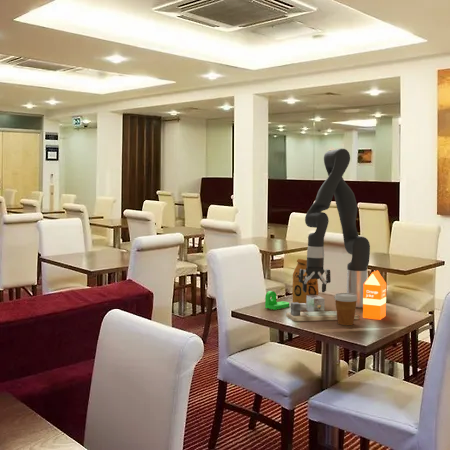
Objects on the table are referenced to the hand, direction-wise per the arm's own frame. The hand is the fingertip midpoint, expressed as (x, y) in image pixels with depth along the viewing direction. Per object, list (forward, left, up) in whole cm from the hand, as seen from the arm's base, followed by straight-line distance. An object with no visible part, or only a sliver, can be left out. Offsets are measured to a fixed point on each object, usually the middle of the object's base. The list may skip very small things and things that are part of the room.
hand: (314, 292), depth 262 cm
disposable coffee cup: (-5, +25, -9) cm, 27 cm away
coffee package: (-1, -16, -9) cm, 18 cm away
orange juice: (-23, +14, -9) cm, 28 cm away
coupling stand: (0, +12, -9) cm, 15 cm away
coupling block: (-1, 0, -9) cm, 9 cm away
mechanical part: (+13, -13, -9) cm, 20 cm away
